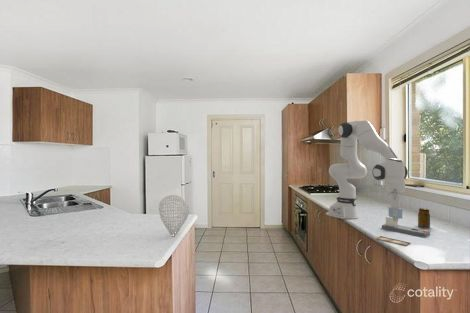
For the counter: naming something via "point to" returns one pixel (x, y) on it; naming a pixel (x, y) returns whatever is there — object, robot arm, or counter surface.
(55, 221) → the counter surface
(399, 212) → the light blue block
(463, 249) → the counter surface
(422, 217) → the condiment
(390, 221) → the plug
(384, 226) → the power strip
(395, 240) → the oak pad
